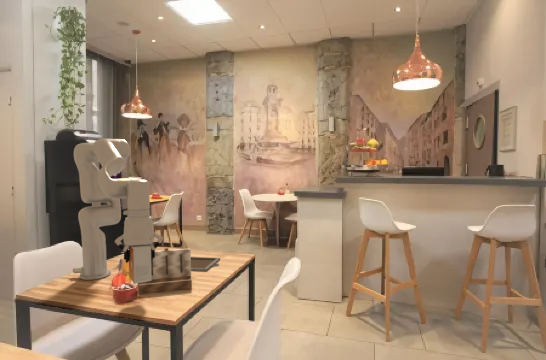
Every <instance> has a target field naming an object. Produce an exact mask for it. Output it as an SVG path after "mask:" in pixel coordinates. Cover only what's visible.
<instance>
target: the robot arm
mask: <svg viewBox="0 0 546 360" xmlns="http://www.w3.org/2000/svg"><path fill="white" fill-rule="evenodd" d="M130 154H131V147H130V144H129V143H128V141H126V140H125V139H121V138H98V139H97V140H95V141H93V142H80V143H79V144H76V145H75V147H74V149H73V159H74V162H75V165H76V167H77V170H78V175H79V188H80V198H81V200H82V202H83V203H85V204H95V203H96V204H98V203H99V204H100V203H107V204H102V205H91V206H85V207H83V208H81V209H80V210H79V211H78V217H77V218H78V223H79V227H80V235H81V249H82V250H81V251H82V266H80V267H74V268H72V273H74V274H79V279H80V280H83V281H92V280H98V279H103V278H107V277H108V276H110V275H111V274H112V272H111V271H112V270H110V269H109V268H108V264H107V243H106V242H107V241H106V239H107V238H106V234H105V232H104V231H102V229H100V227H107V226H113V225H117V224H119V223H120V221H121V220H122V219H121V218H122V213H123V215H124V216H127V217H125V218H124V219H125V220H124V222H125V224H124V223H123V225H124V226H123V234H122V235H120V236H118V237H117V238H116V239H115V240H114V244H116V245H117V246H118V248H119V249H120V250H121V251H122V252H123V260H124V261H125V263H126V264H127V263H128V264H129V250H128V247H129V246H139V245H150V246H151V261H153V258H155V251H156V248H157V247H159V246H160V244H161V243H162V242H163V240H164V237H163V236H161V235H159V233H156V232H155V231H154V222H153V217H152V216H151V212H150V203H151V202H150V201H151V200H150V183H149V181H148V180H146V179H141V178H138V177H126V178H125V177H124V178H123V177H122V178H111V177H113V176H115V175H117V174H119V173H121V172H122V171H123V170H124V169H125V167H126V161H125V160H126V159H128V158H129V157H130ZM95 163H99V164H100V165H101V168H99V166H97V165H96V164H95ZM121 199H127V200H126V202H127V209H126V210H123V212H122V209H121V208H122V207H121V206H122V205H121ZM155 239H156V240H157V241H156V242H155V243H154V240H155ZM122 240H123V243H122ZM125 245H126V246H125Z"/></svg>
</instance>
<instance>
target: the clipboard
mask: <svg viewBox="0 0 546 360" xmlns="http://www.w3.org/2000/svg"><path fill="white" fill-rule="evenodd" d="M219 261H221V257H207V256H206V257H205V256H202V257H201V256H191V272H208V271H209V270H210V269H211V268H213V267H214V268H215V267H219V266H220V264H219V263H218V262H219Z"/></svg>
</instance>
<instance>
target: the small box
mask: <svg viewBox="0 0 546 360" xmlns="http://www.w3.org/2000/svg"><path fill="white" fill-rule="evenodd" d="M128 249H129V261H128V278H129V279H130V280H131V282H132V283H133V285H136V284H137V285H138V284H141V283H142V282H147V281H151V280H152V275H151V246H150V245H139V246H129V247H128Z"/></svg>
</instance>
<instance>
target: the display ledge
mask: <svg viewBox="0 0 546 360" xmlns="http://www.w3.org/2000/svg"><path fill="white" fill-rule="evenodd" d="M191 257H192V256H191V248H190V247H189V248H180V249H179V248H177V249H169V247H164V249H163V250H155V258H153V261H151V275H152V280H151V281H147V282H142V283H138V284H137V285H138V287H137V288H138V291H137V293H138V295H148V294H158V293H169V292H178V291H179V292H180V291H186V290H187V291H188V290H192V289H193V284H192V283H193V281H192V271H191Z"/></svg>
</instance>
